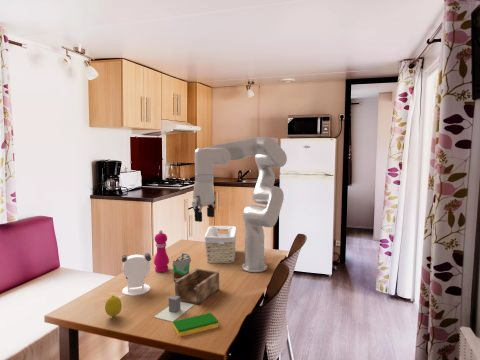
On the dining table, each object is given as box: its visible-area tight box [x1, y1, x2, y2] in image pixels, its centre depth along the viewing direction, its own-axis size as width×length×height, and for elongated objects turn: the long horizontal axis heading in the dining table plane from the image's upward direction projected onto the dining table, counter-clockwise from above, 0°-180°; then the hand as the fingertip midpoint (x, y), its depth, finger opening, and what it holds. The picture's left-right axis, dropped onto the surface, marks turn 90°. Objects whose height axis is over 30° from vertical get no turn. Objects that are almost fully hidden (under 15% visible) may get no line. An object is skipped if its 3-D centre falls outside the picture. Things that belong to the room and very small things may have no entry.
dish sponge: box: [172, 312, 219, 338], centre depth 118 cm, size 7×14×2 cm, turn 117°
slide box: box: [174, 268, 220, 306], centre depth 143 cm, size 16×11×8 cm
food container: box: [172, 252, 192, 283], centre depth 160 cm, size 12×6×10 cm, turn 168°
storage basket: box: [204, 225, 237, 264], centre depth 191 cm, size 24×16×15 cm
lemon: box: [104, 295, 123, 318], centre depth 124 cm, size 6×6×8 cm
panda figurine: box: [121, 252, 152, 297], centre depth 148 cm, size 12×11×15 cm
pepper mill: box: [153, 230, 170, 273], centre depth 170 cm, size 7×7×20 cm
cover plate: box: [153, 294, 195, 323], centre depth 129 cm, size 14×8×6 cm, turn 156°
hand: (204, 219), depth 146 cm, fingers open, 9 cm apart
